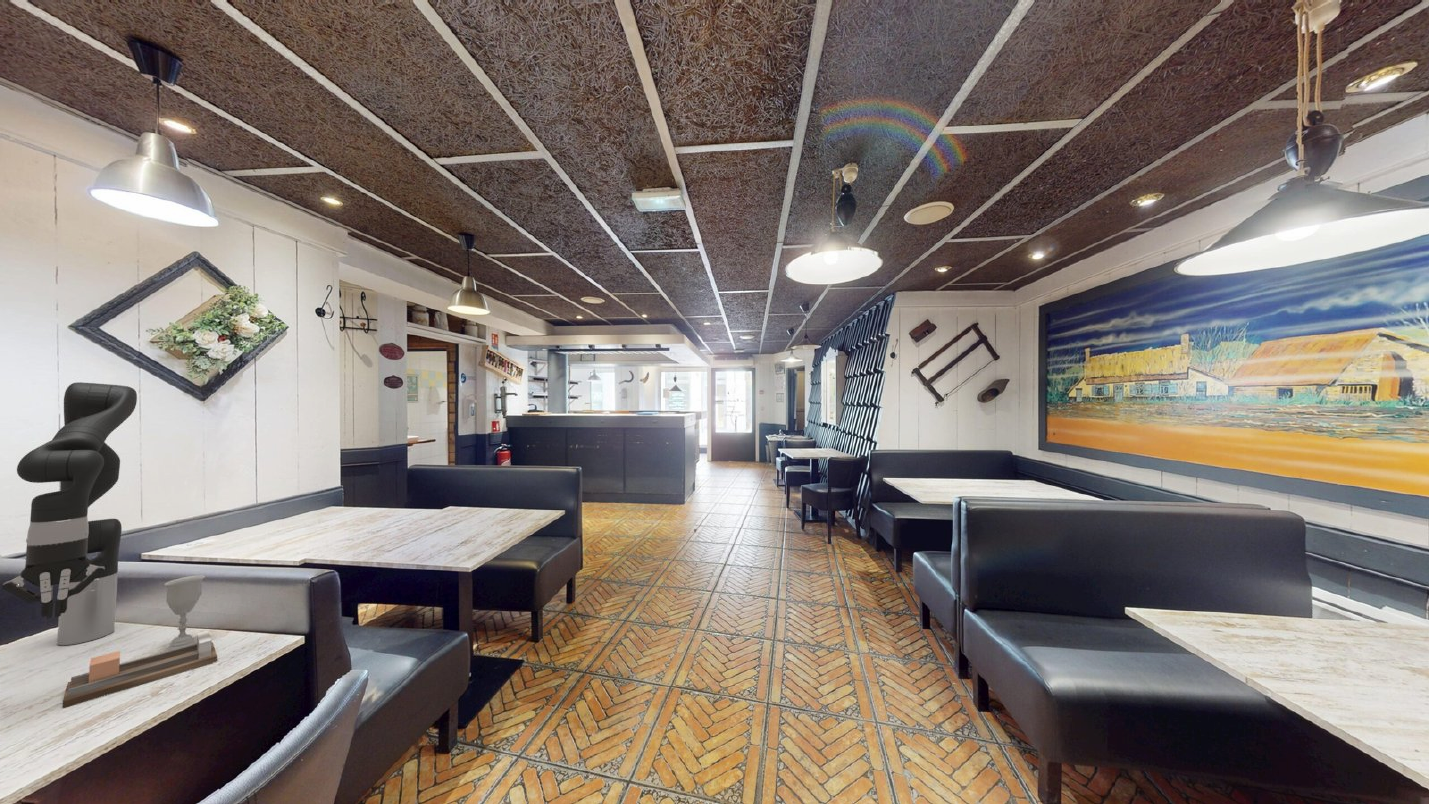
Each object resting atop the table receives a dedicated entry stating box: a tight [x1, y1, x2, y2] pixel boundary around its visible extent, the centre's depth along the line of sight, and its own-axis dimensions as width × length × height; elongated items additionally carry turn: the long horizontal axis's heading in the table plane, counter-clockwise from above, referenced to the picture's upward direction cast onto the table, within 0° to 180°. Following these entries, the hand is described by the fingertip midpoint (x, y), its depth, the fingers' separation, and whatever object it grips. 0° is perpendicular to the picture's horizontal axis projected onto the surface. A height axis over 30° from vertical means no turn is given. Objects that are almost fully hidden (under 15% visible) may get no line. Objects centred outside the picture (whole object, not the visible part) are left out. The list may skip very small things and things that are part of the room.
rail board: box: [62, 630, 218, 709], centre depth 105 cm, size 11×22×6 cm, turn 144°
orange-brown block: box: [88, 650, 121, 683], centre depth 100 cm, size 5×4×5 cm
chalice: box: [163, 574, 206, 651], centre depth 118 cm, size 7×7×18 cm
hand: (53, 616), depth 95 cm, fingers closed
